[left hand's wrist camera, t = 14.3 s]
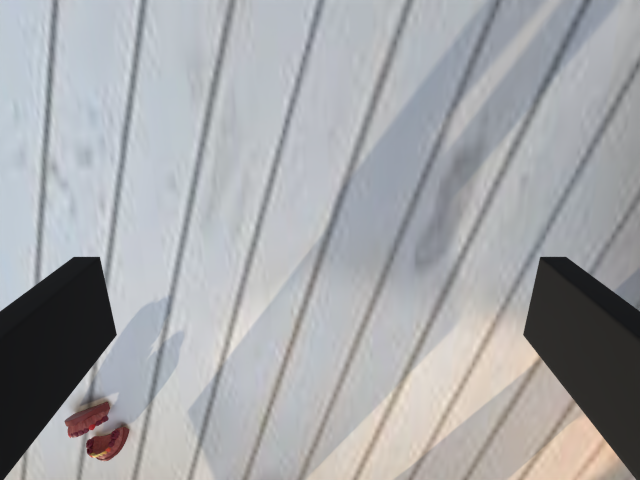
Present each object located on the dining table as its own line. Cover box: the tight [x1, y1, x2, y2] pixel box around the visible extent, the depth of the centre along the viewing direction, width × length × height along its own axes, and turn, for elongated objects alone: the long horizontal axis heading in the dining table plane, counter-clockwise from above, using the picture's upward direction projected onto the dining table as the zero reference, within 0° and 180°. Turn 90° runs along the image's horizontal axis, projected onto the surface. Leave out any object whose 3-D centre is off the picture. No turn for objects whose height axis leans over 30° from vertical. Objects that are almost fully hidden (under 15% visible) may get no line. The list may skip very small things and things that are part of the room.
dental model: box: [65, 402, 129, 461], centre depth 56 cm, size 6×4×8 cm
